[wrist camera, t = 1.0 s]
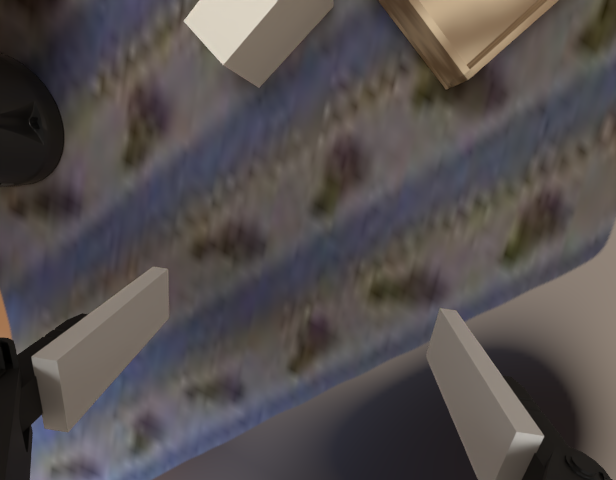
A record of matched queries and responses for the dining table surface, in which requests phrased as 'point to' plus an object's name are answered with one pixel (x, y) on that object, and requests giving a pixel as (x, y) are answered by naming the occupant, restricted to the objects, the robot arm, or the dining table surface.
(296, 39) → the plain off-white rectangular block
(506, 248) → the dining table surface
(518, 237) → the dining table surface
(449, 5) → the cabinet carcass
